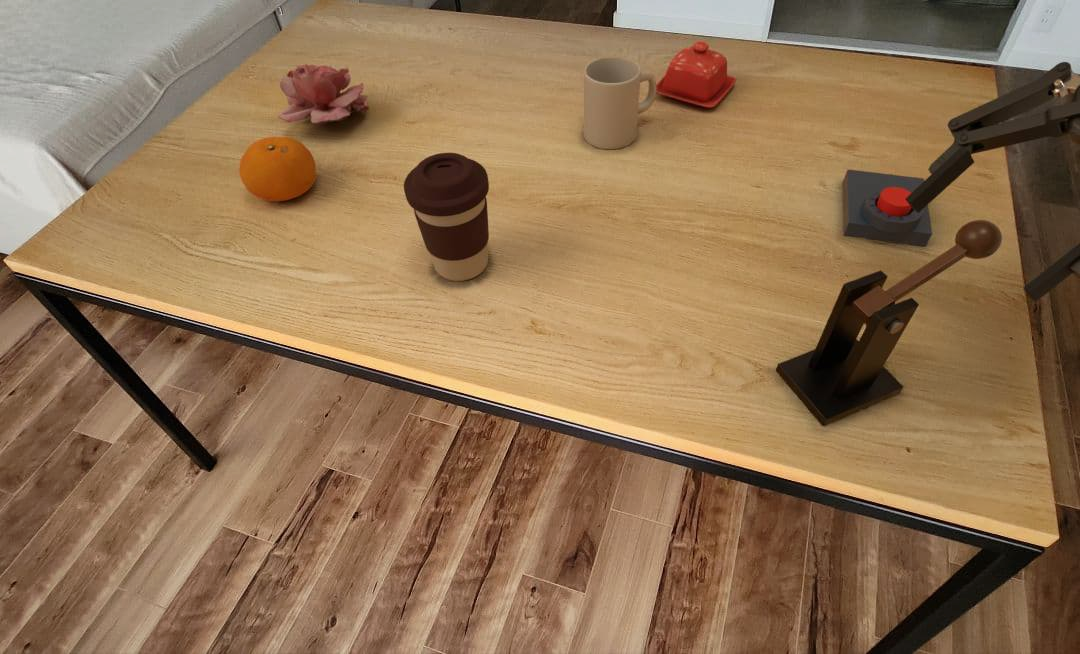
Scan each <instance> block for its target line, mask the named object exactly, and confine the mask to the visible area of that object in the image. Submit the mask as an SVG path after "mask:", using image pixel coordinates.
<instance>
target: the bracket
mask: <svg viewBox="0 0 1080 654" xmlns="http://www.w3.org/2000/svg"><path fill="white" fill-rule="evenodd" d="M887 279H888V275H887V274H886V273H885V272H883V271H882V270H878V271H875V272H873V273H870V274H867V275H864V276H861V277H859V278H857V279H852V280H851V281H847V282H845V283H843V285H842V287H841V289H840V292H839V294H838V296H837V298H836V300H835V303H834V305H833V307H832V310H831V312H830V314H829V317H828V319H827V321H826V323H825V325H824V328H823V331H822V333H821V335H820V337H819V339H818V342H817V345H816V346H815V349H812V350H811V351H807V352H804V353H802V354H799V355H797V356H794V357H792V358H790V359H787V360H784V361H781V362H779V363H778V364H777V365H776V369H775V372H776V373H777V374H778V375H779V376H780V377H781V378H782V380H783V381H784V382H785V383H786V384H787V385H788V387H789V388H790V389H791V390H792V392H793V393H794V394H795V395H796V396H797V397H798V399H799V400H800V401H801V402H802V403H803V405H804V406H805V407H806V408H807V409H808V411H810V413H811V414H812V415H813V417H815V419H816V420H817V421H818V422H819V424H820V425H821V426H822V427H824V426H827V425H829V424H832V423H834V422H836V421H838V420H841V419H843V418H845V417H848V416H850V415H852V414H854V413H857V412H859V411H862V410H864V409H866V408H868V407H871V406H873V405H876V404H878V403H881V402H882V401H885V400H887V399H890V398H893V397H894V396H897V395H899V394H901V393H902V391H903V389H904V387H905V386H904V385H903V384H902V383H901V382H900V381H899V380H898V379H897V378H896V377H895V376H894V375H893V374H892V373H891V372H890V371H889V370H888V369H887V368H886V367H885V364H886V362H887V360H888V359H889V357H890V356H891V354H892V352H893V350H895V347H896V345H897V344H898V342H899V341H900V338H901V337H902V335H903V333H904V332H905V330H906V328H907V327H908V325H909V323H910V321H911V320H912V318H913V316H914V314H915V312H916V311H917V309H918V307H919V306H920V304H919V302H918V301H916V300H915V299H914V298H913V297H909V298H907V299H904V300H902V301H898V302H897V303H896V302H895V304H894V305H891V306H889V307H886V308H884V309H881V310H878V311H876V312H874V313H873V314H872V316H871V318H870V320H869V322H868V324H867V325H865V323H864V322H863V321H862V320H861V319H860V318H859V317H858V316H857V315H855V313H854V304H853V302H854V301H855V300H857V299H858V298H860V297H861V296H863V295H864V294H866V293H867V292H869V291H870V290H872V289H874V288H875V287H877V286H878V285H879V286H880V287H881V288H882V289H883V287H884V285H885V283H886V281H887ZM864 325H865V328H864V329H863V327H864ZM862 329H863V330H864V331H863V332H862V334H861V336H860V338H859V340H858V336H859V335H860V333H861V331H862Z"/></svg>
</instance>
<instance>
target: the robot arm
mask: <svg viewBox="0 0 1080 654" xmlns="http://www.w3.org/2000/svg"><path fill="white" fill-rule="evenodd" d="M1069 94H1073V97H1072V100H1071V102H1069V103H1063V104H1060V105H1056V106H1053V107H1052V106H1051V107H1049V108H1048V109H1046V110H1045V111H1043V112H1039V113H1035V114H1032V115H1028V116H1024V117H1020V118H1015V117H1017V116H1019V115H1021V114H1024V113H1026V112H1029V111H1031V110H1033V109H1036V108H1037V107H1039V106H1042V105H1045V104H1046V103H1048V102H1050V101H1052V100H1053V99H1055V98H1059V99H1061V98H1064V97H1065V96H1066V95H1069ZM1012 118H1015V119H1012ZM1010 119H1012V120H1010ZM947 128H948V129H949V131H950V133H951V135H952V137H953V143H952V144H951V145H950V146H949V147H948V148H947V149H946V150H945V151H944V152H943V153H941V155H939V156H938V157H937V158H936V159H935V160H933V162H932V163H931V164H930V165H929V167H928V169H927V170H928V171H929V174H930V175H929V176H928V177H927V178H926V179H924V182H923V183H922V184H921V185H920V186H918V187H917V188H916V189H915V190H914V191H913V192H912V193H911V194H910V195H909V196H908V197H907V198H905V200H906V201H907V202H908V203H909V205H910V206H911V207H912V208H913V209H914V210H915V211H916V212H918V213H919V212H920V211H921V210H922V209H923V208H925V207H926V206H927V205H928V206H929V205H930V203H932V201H934V200H935V198H937V197H938V196H939V195H940V194H941V193H943V192H944V191H945V190H946V189H947V188H948V187H949V186H951V184H953V182H954V181H956V180H957V179H958V178H959V177H960V176H961V175H963V173H965V172H966V171H967V170H968V169H969V168H970V167H971V166H972V165H973V164H975V159H974V158H973V156H972V155H974V154H978V153H982V152H987V151H991V150H995V149H1001V148H1004V147H1005V148H1006V147H1008V146H1013V145H1014V146H1015V145H1017V144H1022V143H1026V142H1030V141H1035V140H1039V139H1043V138H1048V137H1052V138H1059V137H1064V136H1068V135H1069V137H1070V138H1071V141H1072V142H1073V143H1075V144H1077V145H1078V146H1080V75H1079V74H1077V73H1076V72H1074V71H1073V70H1072V65H1071V63H1070V62H1068V61H1062V62H1058V63H1056V65H1055V66H1053V67H1052V68H1051V69H1049V70H1048V71H1047V72H1045V73H1044V74H1043V75H1042V76H1040V77H1039V78H1038V79H1035V80H1033V81H1031V82H1029V83H1027V84H1024V85H1023V86H1020V87H1019V88H1016V89H1013V90H1012V91H1009V92H1008V93H1005V94H1003V95H1001V96H999V97H997V98H994V99H992V100H991V101H988V102H986V103H984V104H981V105H978V106H977V107H975V108H973V109H971V110H968V111H966V112H964V113H962V114H960V115H957V116H955V117H953V118H951V119H950V120H948V123H947ZM1071 275H1074V276H1075V277H1077V278H1078V279H1080V242H1079V243H1078V244H1076V245H1075V246H1074V247H1073V248H1071V249H1070V250H1069V251H1068V252H1066V253H1065V254H1064V255H1063V256H1061V257H1060V258H1059V259H1058V260H1057V261H1055V262H1054V263H1052V264H1051V265H1050V266H1049V267H1047V268H1046V269H1045V270H1044V271H1043V272H1041V273H1040V274H1039V275H1037V276H1036V277H1035V278H1034V279H1033V280H1031V281H1030V282H1029V283H1028V284H1026V285H1025V286H1024V287H1023V288H1022V289H1023V290H1024V292H1025V294H1026V295H1027V297H1028V298H1030V299H1031V300H1032V301H1033V302H1034V303H1036V302H1038V301H1039V300H1040V299H1042V298H1043V297H1044V296H1045V295H1047V294H1048V293H1049V292H1050V291H1052V290H1054V289H1055V287H1057V286H1058V285H1059V284H1061V283H1062V282H1063V281H1065V280H1066V279H1067V278H1069V276H1071Z"/></svg>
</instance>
